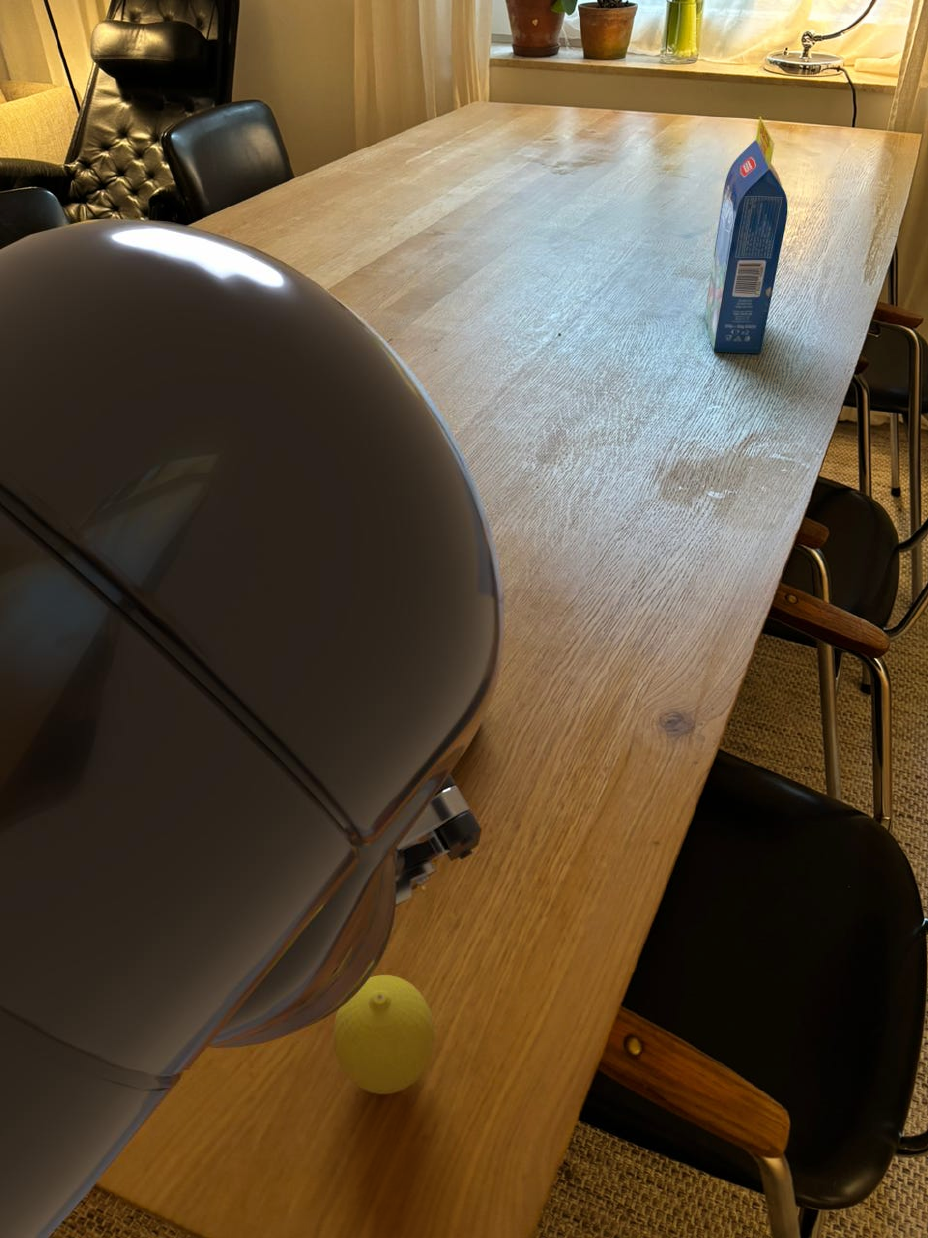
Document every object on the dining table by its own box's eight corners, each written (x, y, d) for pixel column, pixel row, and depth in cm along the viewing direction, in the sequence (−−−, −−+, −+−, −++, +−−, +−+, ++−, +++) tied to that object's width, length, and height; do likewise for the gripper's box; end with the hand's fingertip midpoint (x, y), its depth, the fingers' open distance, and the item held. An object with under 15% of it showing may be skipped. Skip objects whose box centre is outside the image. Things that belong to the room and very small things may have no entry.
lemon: (455, 1080, 56) (452, 1009, 51) (371, 1138, 54) (359, 1070, 49) (404, 1005, 60) (397, 931, 55) (323, 1056, 58) (307, 984, 52)
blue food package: (749, 315, 136) (786, 116, 119) (761, 354, 126) (802, 144, 110) (703, 314, 136) (733, 115, 120) (711, 352, 127) (745, 143, 111)
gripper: (419, 637, 28) (412, 760, 43) (-76, 897, 25) (104, 931, 40) (559, 873, 26) (500, 915, 41) (40, 1189, 23) (183, 1108, 38)
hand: (305, 923), depth 41 cm, fingers open, 8 cm apart
